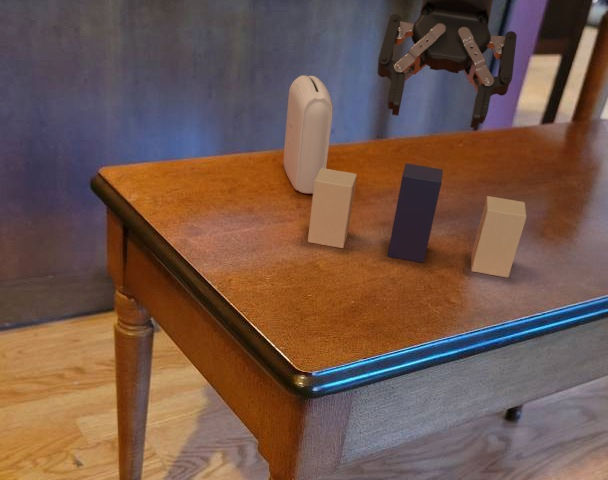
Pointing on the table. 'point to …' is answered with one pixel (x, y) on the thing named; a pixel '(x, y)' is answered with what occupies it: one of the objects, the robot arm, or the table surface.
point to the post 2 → (498, 236)
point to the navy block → (415, 212)
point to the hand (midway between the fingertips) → (435, 117)
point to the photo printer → (307, 132)
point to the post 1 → (331, 207)
